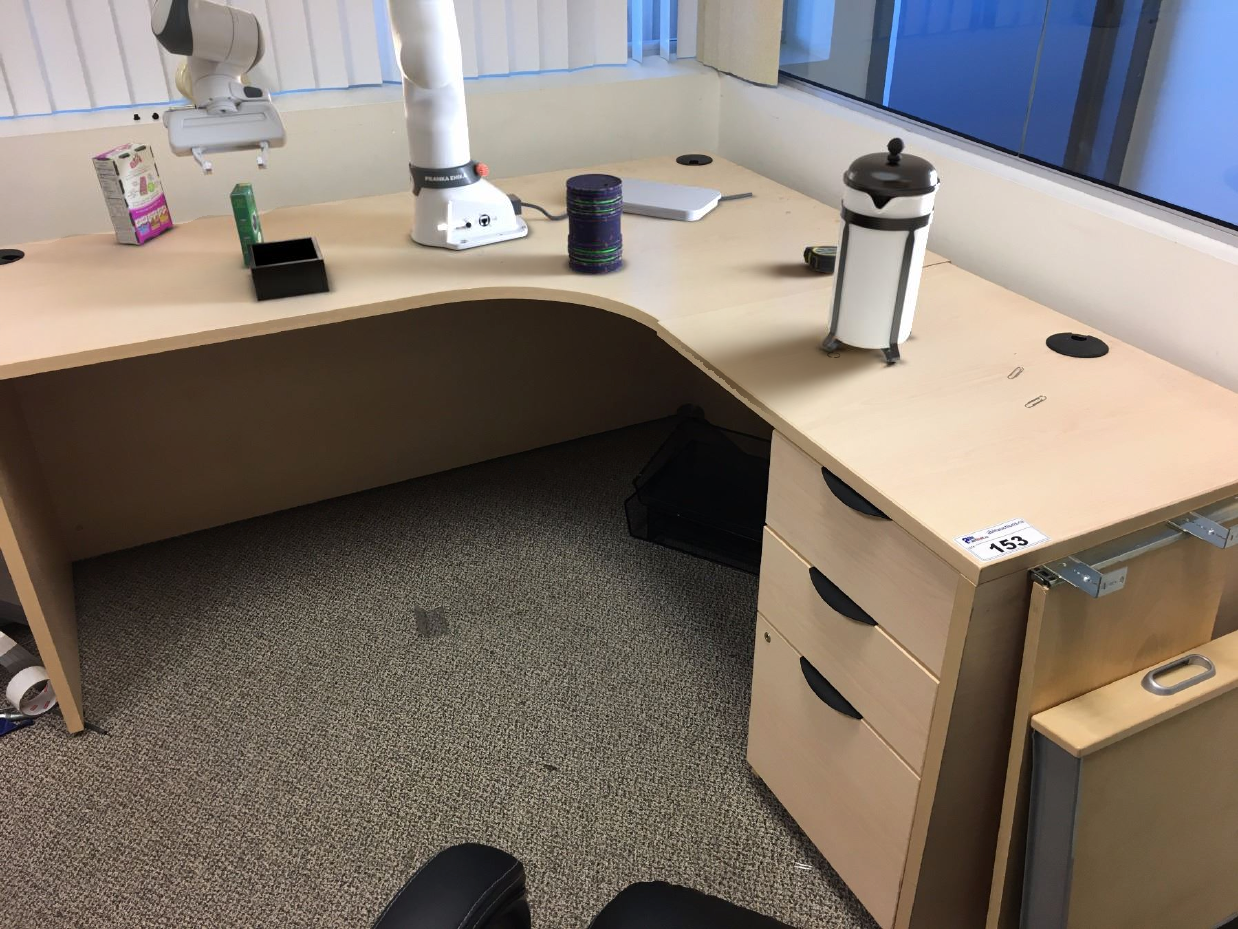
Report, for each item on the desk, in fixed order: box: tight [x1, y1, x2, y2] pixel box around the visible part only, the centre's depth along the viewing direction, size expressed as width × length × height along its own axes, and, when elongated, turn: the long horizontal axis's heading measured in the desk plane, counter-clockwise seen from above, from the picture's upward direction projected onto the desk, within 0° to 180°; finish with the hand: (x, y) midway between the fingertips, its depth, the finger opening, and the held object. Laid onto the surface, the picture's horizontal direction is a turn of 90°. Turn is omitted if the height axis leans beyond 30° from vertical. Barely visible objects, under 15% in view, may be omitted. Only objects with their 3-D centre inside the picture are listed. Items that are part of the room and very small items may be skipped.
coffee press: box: [821, 137, 941, 364], centre depth 134 cm, size 17×16×30 cm
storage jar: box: [565, 173, 624, 276], centre depth 165 cm, size 10×10×15 cm
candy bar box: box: [91, 142, 174, 246], centre depth 179 cm, size 11×5×16 cm, turn 168°
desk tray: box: [246, 235, 330, 302], centre depth 161 cm, size 12×13×6 cm
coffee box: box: [229, 182, 265, 268], centre depth 169 cm, size 8×3×13 cm, turn 11°
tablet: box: [619, 177, 722, 222], centre depth 199 cm, size 16×26×2 cm, turn 64°
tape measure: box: [803, 245, 838, 274], centre depth 166 cm, size 7×7×4 cm
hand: (235, 170), depth 171 cm, fingers open, 8 cm apart
